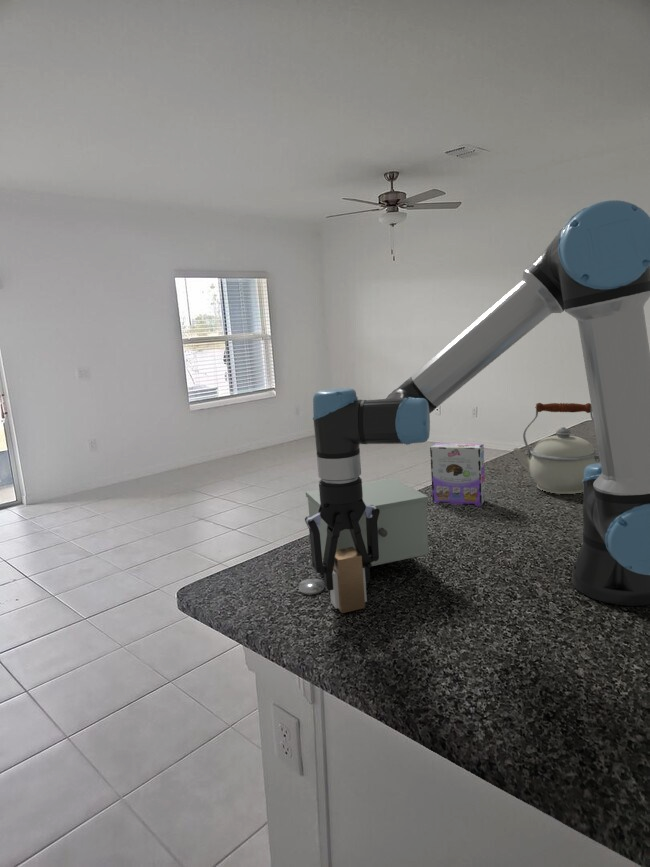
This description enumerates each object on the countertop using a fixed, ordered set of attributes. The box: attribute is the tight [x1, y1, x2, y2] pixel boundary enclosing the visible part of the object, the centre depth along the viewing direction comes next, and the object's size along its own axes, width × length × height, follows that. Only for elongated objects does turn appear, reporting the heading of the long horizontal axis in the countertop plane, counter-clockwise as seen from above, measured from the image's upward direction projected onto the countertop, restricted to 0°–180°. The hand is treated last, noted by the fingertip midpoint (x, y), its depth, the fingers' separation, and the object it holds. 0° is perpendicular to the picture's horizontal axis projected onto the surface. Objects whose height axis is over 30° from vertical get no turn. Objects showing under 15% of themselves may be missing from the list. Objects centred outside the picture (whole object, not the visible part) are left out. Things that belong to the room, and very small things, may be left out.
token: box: [298, 578, 325, 595], centre depth 109 cm, size 5×5×1 cm
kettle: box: [512, 402, 600, 495], centre depth 159 cm, size 25×18×25 cm
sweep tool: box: [333, 547, 366, 614], centre depth 105 cm, size 15×4×10 cm, turn 18°
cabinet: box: [305, 477, 430, 567], centre depth 115 cm, size 18×21×16 cm
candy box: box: [429, 442, 486, 507], centre depth 154 cm, size 14×6×16 cm, turn 63°
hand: (348, 601), depth 101 cm, fingers closed on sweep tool, 4 cm apart
